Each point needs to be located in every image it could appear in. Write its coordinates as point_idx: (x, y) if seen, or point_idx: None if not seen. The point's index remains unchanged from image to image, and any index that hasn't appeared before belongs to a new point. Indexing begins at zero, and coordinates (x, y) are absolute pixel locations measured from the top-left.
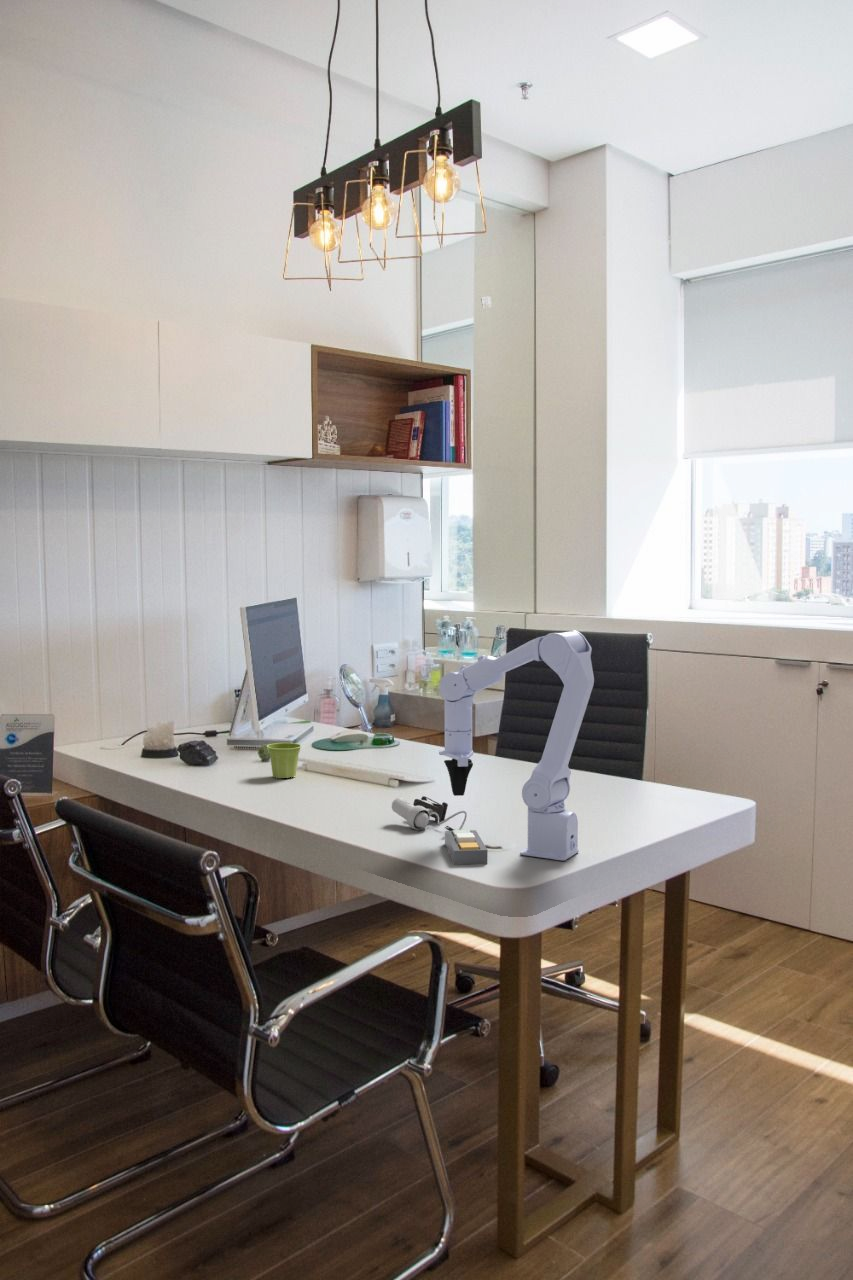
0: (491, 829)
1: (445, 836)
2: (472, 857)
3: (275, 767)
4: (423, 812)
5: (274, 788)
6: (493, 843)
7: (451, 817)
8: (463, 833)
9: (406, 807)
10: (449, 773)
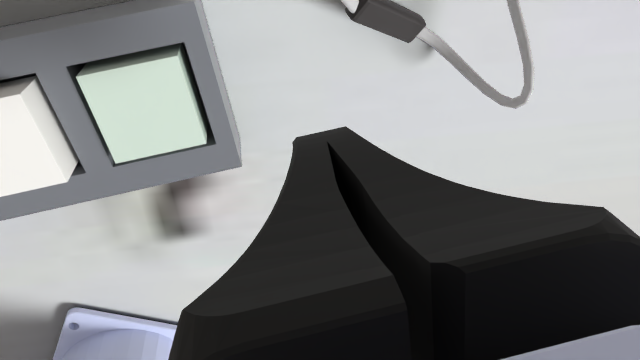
0: (467, 176)
1: (160, 3)
2: None
3: None
4: None
5: None
6: (240, 204)
7: (512, 18)
8: (30, 137)
9: None
10: (328, 224)
